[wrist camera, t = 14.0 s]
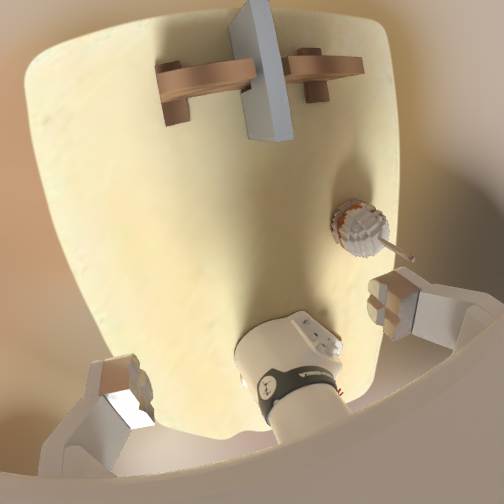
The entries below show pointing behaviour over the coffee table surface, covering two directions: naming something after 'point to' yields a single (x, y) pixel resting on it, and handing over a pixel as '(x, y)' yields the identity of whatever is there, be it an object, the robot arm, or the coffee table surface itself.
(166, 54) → the coffee table surface
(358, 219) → the decorative ornament
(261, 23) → the grey plate
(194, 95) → the walnut crosspiece
